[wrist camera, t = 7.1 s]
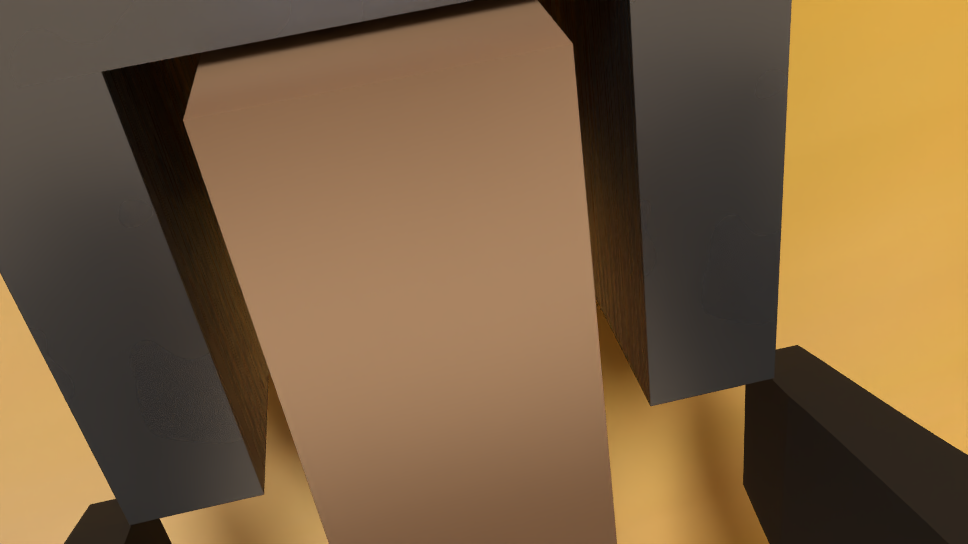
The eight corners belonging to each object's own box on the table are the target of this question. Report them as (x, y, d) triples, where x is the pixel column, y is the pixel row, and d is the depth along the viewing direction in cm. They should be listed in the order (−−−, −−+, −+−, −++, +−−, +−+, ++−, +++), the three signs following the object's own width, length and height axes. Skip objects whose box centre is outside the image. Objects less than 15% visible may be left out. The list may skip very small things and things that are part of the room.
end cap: (638, 188, 12) (774, 378, 9) (178, 284, 11) (129, 524, 8) (615, -274, 9) (802, -260, 6) (1, -167, 9) (-183, -85, 5)
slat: (548, 528, 15) (642, 840, 11) (406, 561, 15) (448, 891, 11) (455, -101, 10) (571, 44, 6) (232, -61, 10) (182, 121, 5)
